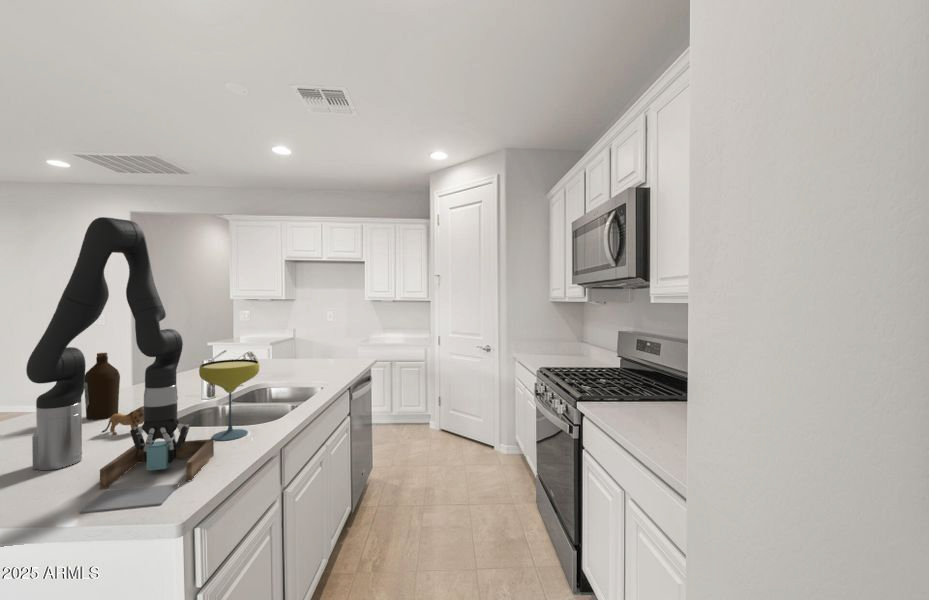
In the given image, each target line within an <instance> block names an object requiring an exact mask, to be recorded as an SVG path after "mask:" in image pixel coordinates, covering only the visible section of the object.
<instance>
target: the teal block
mask: <svg viewBox="0 0 929 600" xmlns="http://www.w3.org/2000/svg"><path fill="white" fill-rule="evenodd" d="M168 450H169V448H168V445H167V443H166V442H165V440H164V441H163V440H161V441H155V442H154V444H152V445H151V446H150V447H148V448H147V463H146V471H155V470H166V469H167V468H168V467H169V466H170V465H172V463H174V462H175V460H174V461H173V462H172V463H168Z"/></svg>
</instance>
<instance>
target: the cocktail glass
mask: <svg viewBox="0 0 929 600" xmlns="http://www.w3.org/2000/svg"><path fill="white" fill-rule="evenodd" d="M259 371H260V363H259V361H258V360H256V359H255V360H254V359H246V358H245V359H244V358H243V359H242V358H241V359H238V358H237V359H224V360H223V359H222V360H216V361H210V362H206V363H202V364H201V365H199V369H198V372H199V373H198V374H199V377H200V378H201V379H202V380H203V381H205V382H207V383H209V384H212V385H214V386H217V387H220V388H222V389H224V391H225V392H226V393H228V396H229V397H228V403H229V404H228V410H229V411H228V427H227V430H223V431H222V430H221V431H218V432H216V433H214V434H212V436H211V439H214V441H217V442H218V441H220V442H222V441H223V442H224V441H232V440H237V439H240V438H243V437H245V436H247V435H248V430H246V429H244V428H235V429H233V423H232V393H234V392H235V391H236V389H237V388H238V387H240V386H241V385H242V384H245V383H247V382H248V381H250V380H251V379H253V378H255V377H256V376H257V375H258V373H259Z"/></svg>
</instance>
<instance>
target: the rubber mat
mask: <svg viewBox="0 0 929 600" xmlns="http://www.w3.org/2000/svg"><path fill="white" fill-rule="evenodd" d="M178 485H179V486H180V483H171V484H162V485H161V484H160V485H150V486H140V487H139V486H138V487H128V488H127V487H126V488H117V489H107V490H106V489H105V490H104V491H103V492H102V493H101V494H99V495H98V496H97V497H96V498H94V499H93V500H92V501H91V502H89V503H88V504H87V505H85V506H84V507H83V508H82V509H81V510H79V512H78V513H79V514H83V513H84V514H85V513H95V512H103V511H113V510H114V511H115V510H123V509H132V508H133V509H134V508H142V507H152V506H161V505H163V504H164V502H165V501H166V500H167V499H168V498H169V497H170V496H171V495H172V493H173V492H174V491H175V490H176V489H177V488H178V487H179V486H178Z"/></svg>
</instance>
